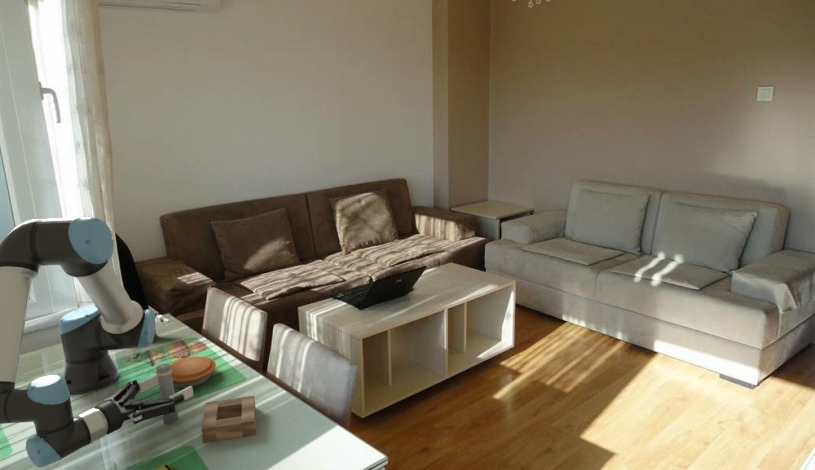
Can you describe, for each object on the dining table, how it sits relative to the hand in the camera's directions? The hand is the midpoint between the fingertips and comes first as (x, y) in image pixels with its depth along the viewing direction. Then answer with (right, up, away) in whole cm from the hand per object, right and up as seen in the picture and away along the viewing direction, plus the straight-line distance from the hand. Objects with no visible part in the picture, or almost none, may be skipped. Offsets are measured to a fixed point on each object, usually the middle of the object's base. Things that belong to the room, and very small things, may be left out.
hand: (176, 383), depth 158 cm
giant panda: (-31, +3, +51) cm, 59 cm away
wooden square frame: (+16, -10, -3) cm, 19 cm away
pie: (-4, -4, +22) cm, 23 cm away
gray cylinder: (-2, -10, 0) cm, 10 cm away
